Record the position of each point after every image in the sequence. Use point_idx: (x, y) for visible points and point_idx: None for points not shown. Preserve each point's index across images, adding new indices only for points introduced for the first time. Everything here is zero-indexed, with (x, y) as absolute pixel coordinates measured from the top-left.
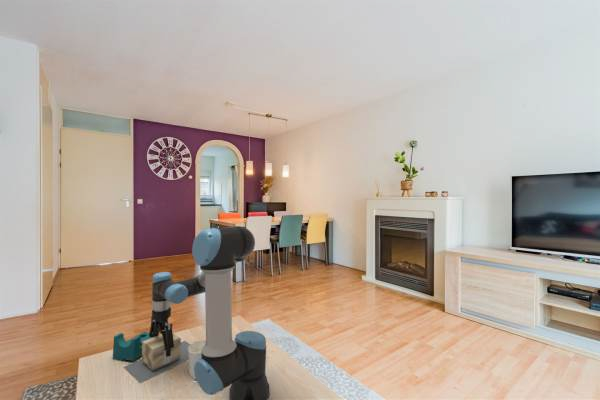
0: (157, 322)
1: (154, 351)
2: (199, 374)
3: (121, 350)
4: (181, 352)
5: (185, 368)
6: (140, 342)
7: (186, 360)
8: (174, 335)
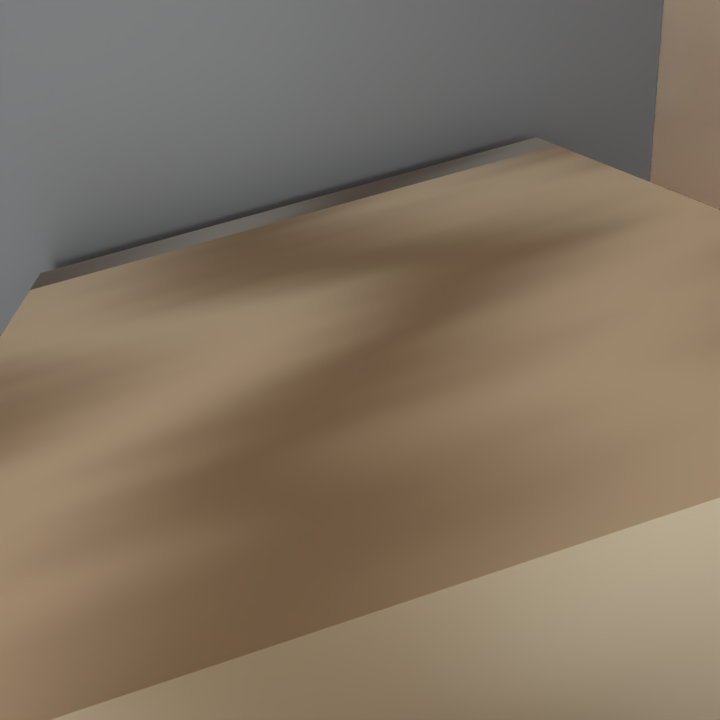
0: None
1: None
2: None
3: None
4: (270, 4)
5: (712, 96)
6: None
7: (659, 30)
8: (559, 589)
